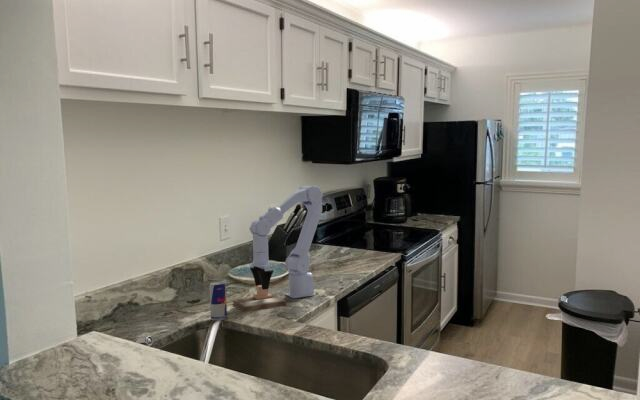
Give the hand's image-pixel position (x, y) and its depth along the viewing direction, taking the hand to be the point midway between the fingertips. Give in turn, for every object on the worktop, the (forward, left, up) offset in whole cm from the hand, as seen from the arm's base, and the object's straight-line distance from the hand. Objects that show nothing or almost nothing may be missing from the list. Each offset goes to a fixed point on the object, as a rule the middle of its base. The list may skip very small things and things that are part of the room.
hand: (261, 287), depth 186 cm
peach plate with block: (0, 0, -4) cm, 4 cm away
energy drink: (+20, +14, -6) cm, 26 cm away
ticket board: (+2, +3, -6) cm, 7 cm away
